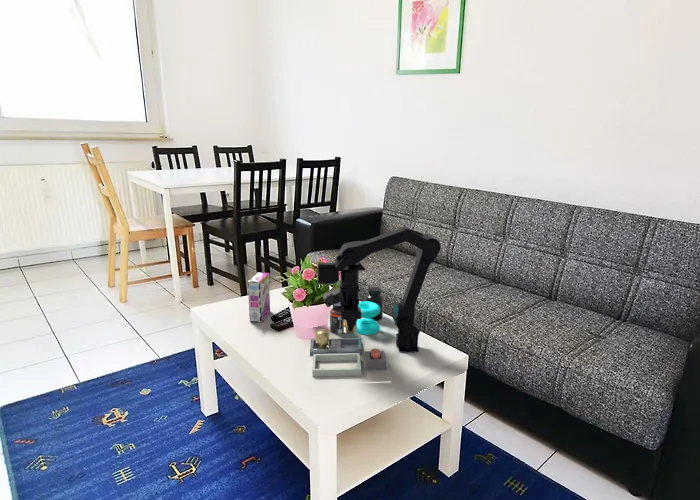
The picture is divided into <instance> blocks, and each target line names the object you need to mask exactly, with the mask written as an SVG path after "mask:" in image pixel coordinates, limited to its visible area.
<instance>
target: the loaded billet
mask: <svg viewBox="0 0 700 500" xmlns="http://www.w3.org/2000/svg"><path fill="white" fill-rule="evenodd" d="M315 339H316V349H329V339H330V330H328V329H327V328H318V329H316V330H315Z"/></svg>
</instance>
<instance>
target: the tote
mask: <svg viewBox="0 0 700 500" xmlns="http://www.w3.org/2000/svg"><path fill="white" fill-rule="evenodd" d="M360 356H361V355H359V353H343V354H313V356H312V367H311V368H312V369H311V373H312V374H311V375H312V376H311V377H337V376H338V377H343V376H345V377H346V376H362V364H361V358H360ZM326 361H327V362H329V361H330V362H331V361H334V362H335V361H337V362H339V361H341V362H342V361H357V362H356V363H357V367H349V368H348V367H345V368H344V367H343V368H342V367H341V368H340V367H339V368H316V363H317V362H326Z"/></svg>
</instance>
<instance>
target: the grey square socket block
mask: <svg viewBox="0 0 700 500" xmlns="http://www.w3.org/2000/svg"><path fill="white" fill-rule="evenodd" d="M364 362H365V369H366V371H387V357H386V353H385V350H380V359H371V350H368V351H364Z"/></svg>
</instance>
